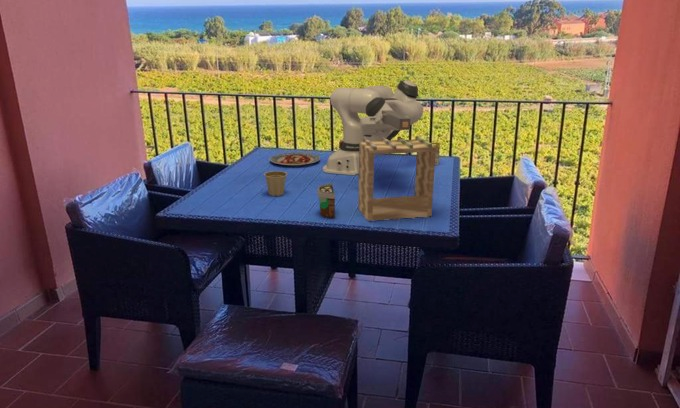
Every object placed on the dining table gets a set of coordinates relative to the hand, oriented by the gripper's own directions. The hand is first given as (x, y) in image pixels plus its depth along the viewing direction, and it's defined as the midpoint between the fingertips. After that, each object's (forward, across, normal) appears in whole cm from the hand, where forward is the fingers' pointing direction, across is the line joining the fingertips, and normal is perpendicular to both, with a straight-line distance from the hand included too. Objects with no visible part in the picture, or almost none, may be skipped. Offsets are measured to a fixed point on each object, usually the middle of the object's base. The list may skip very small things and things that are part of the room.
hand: (389, 115), depth 203 cm
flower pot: (-26, +44, -24) cm, 56 cm away
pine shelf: (+1, +3, -39) cm, 39 cm away
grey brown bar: (+6, 0, -6) cm, 8 cm away
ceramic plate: (-71, +30, +4) cm, 77 cm away
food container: (-2, +28, -38) cm, 47 cm away
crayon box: (-54, -37, -5) cm, 65 cm away
